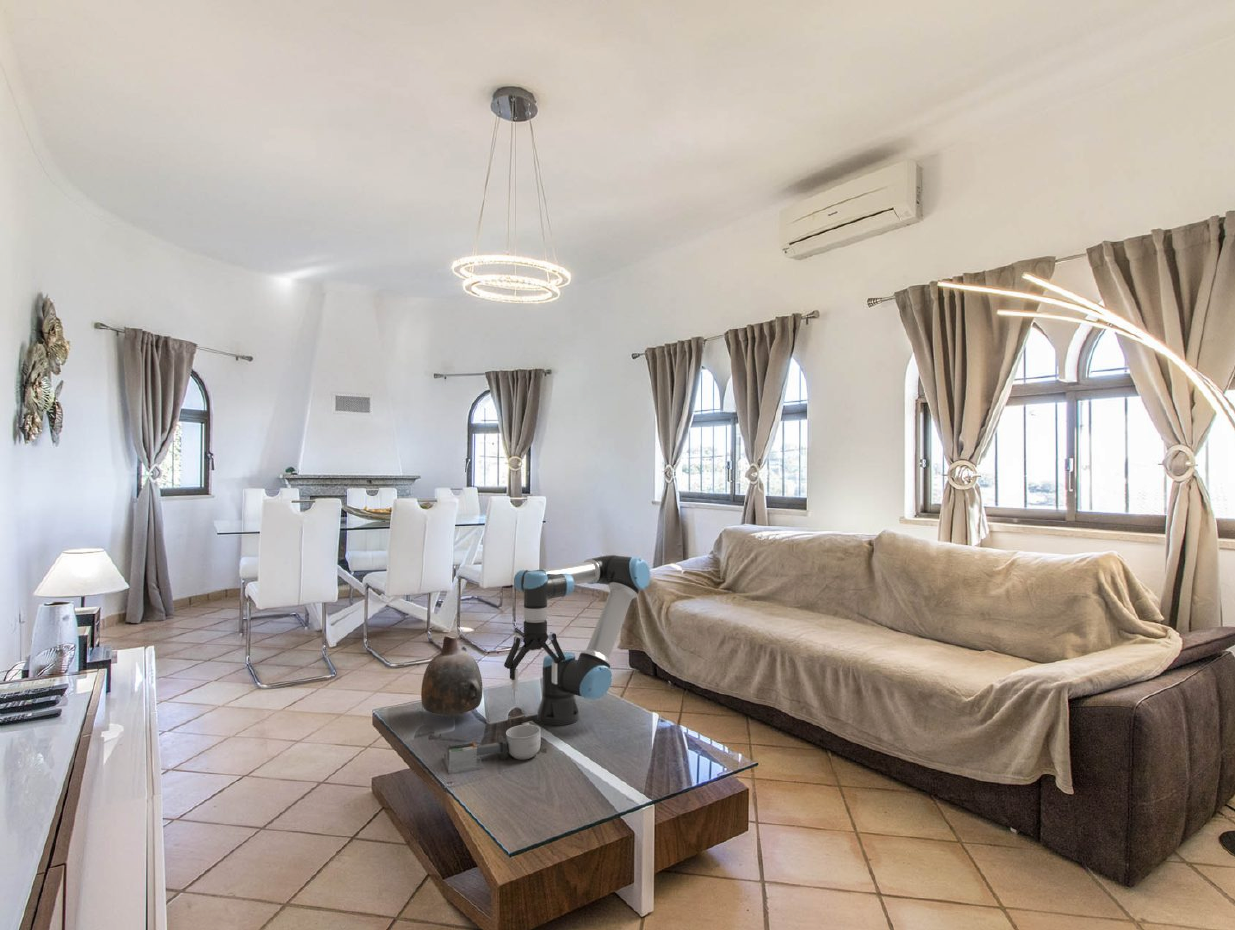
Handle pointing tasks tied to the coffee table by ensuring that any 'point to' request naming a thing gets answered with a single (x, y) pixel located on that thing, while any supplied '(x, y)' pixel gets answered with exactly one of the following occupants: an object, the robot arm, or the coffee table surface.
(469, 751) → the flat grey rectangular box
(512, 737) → the teacup
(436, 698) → the jug
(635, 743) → the coffee table surface
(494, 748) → the hammer
